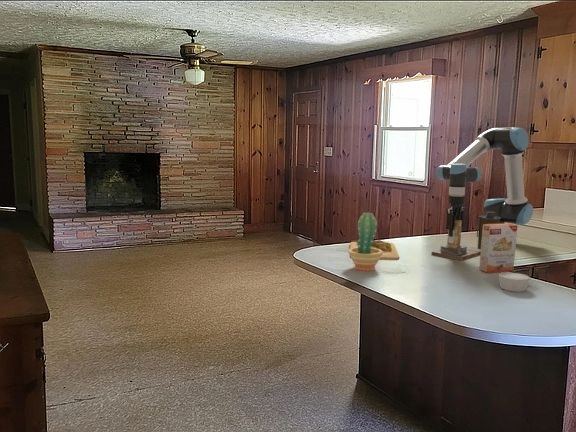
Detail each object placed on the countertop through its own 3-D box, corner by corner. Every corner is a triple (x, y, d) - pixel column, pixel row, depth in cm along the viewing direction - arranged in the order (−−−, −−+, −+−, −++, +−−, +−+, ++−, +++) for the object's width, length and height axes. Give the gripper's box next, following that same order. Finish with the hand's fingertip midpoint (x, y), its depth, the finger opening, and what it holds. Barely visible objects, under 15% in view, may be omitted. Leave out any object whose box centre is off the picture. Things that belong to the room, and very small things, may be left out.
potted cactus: (388, 267, 241) (390, 212, 237) (369, 274, 230) (371, 216, 226) (360, 262, 251) (361, 209, 247) (340, 268, 240) (342, 213, 236)
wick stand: (456, 247, 284) (457, 239, 283) (485, 253, 272) (485, 244, 272) (431, 254, 268) (431, 245, 267) (460, 260, 256) (461, 251, 255)
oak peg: (451, 246, 269) (453, 219, 267) (460, 248, 266) (461, 220, 264) (447, 248, 266) (448, 220, 264) (455, 249, 263) (456, 221, 261)
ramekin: (503, 283, 218) (504, 270, 217) (532, 288, 211) (533, 275, 210) (493, 289, 210) (494, 276, 209) (523, 294, 203) (524, 281, 202)
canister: (495, 248, 284) (497, 210, 281) (500, 252, 274) (503, 213, 271) (474, 247, 285) (476, 210, 282) (478, 251, 275) (481, 213, 272)
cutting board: (399, 261, 256) (400, 245, 255) (350, 259, 259) (350, 244, 258) (393, 246, 291) (394, 232, 290) (350, 244, 293) (350, 231, 292)
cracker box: (487, 273, 233) (490, 226, 229) (478, 270, 238) (481, 223, 235) (514, 271, 236) (518, 224, 233) (505, 268, 242) (509, 222, 239)
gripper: (459, 193, 271) (456, 238, 274) (440, 195, 259) (437, 243, 262) (472, 194, 265) (469, 241, 269) (454, 197, 253) (451, 245, 257)
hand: (453, 242), depth 266 cm, fingers closed on oak peg, 4 cm apart
